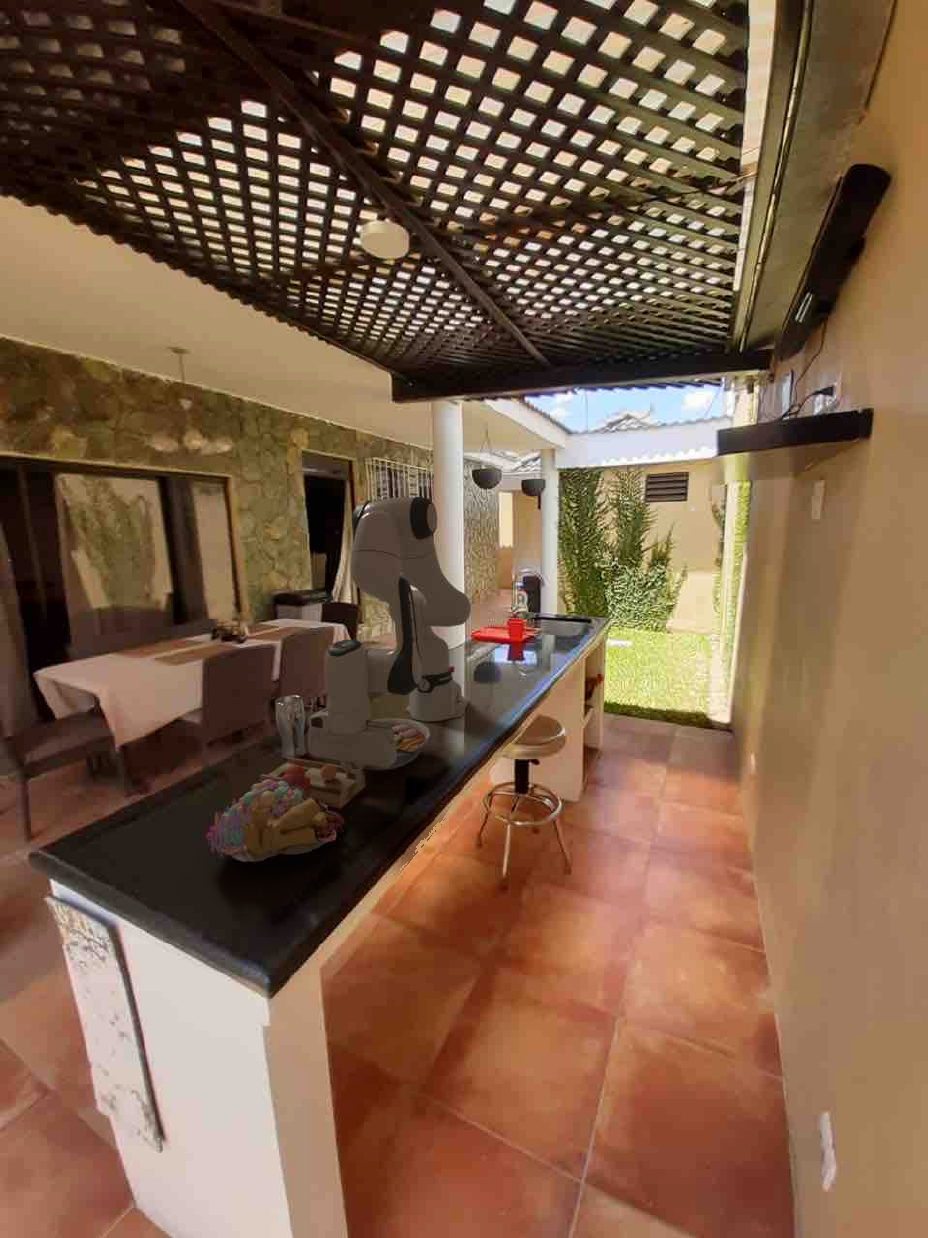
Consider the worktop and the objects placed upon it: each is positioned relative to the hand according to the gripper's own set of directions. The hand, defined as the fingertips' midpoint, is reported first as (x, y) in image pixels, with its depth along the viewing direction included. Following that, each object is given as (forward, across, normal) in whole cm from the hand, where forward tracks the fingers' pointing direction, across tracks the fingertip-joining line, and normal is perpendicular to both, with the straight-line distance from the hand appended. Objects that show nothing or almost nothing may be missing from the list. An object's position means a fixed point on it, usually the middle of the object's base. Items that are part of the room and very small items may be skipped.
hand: (354, 779), depth 105 cm
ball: (0, +7, 0) cm, 7 cm away
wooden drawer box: (+4, +11, 0) cm, 12 cm away
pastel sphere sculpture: (+2, +6, +18) cm, 19 cm away
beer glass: (+4, +28, -13) cm, 31 cm away
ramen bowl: (+4, +2, -16) cm, 17 cm away
